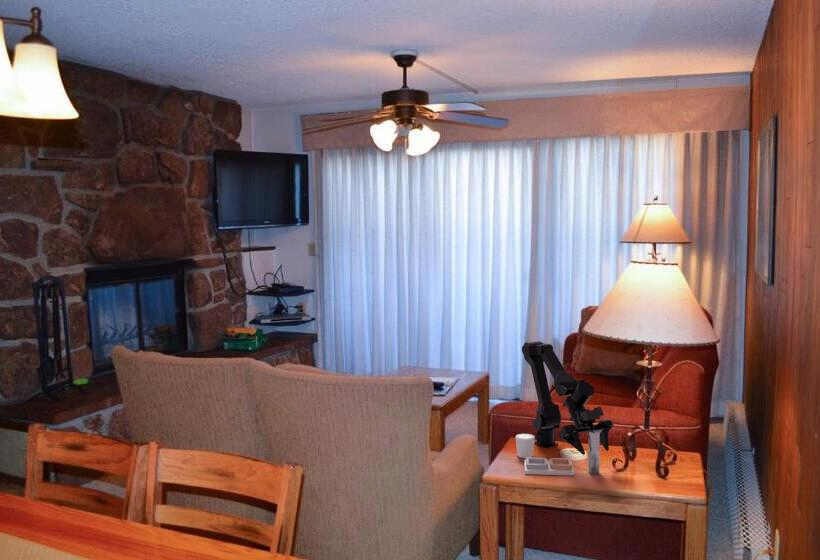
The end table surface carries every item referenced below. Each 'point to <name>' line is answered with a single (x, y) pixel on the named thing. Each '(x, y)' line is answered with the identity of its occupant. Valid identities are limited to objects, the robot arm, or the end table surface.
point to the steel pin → (594, 452)
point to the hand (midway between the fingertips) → (596, 452)
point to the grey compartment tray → (548, 466)
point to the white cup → (525, 445)
